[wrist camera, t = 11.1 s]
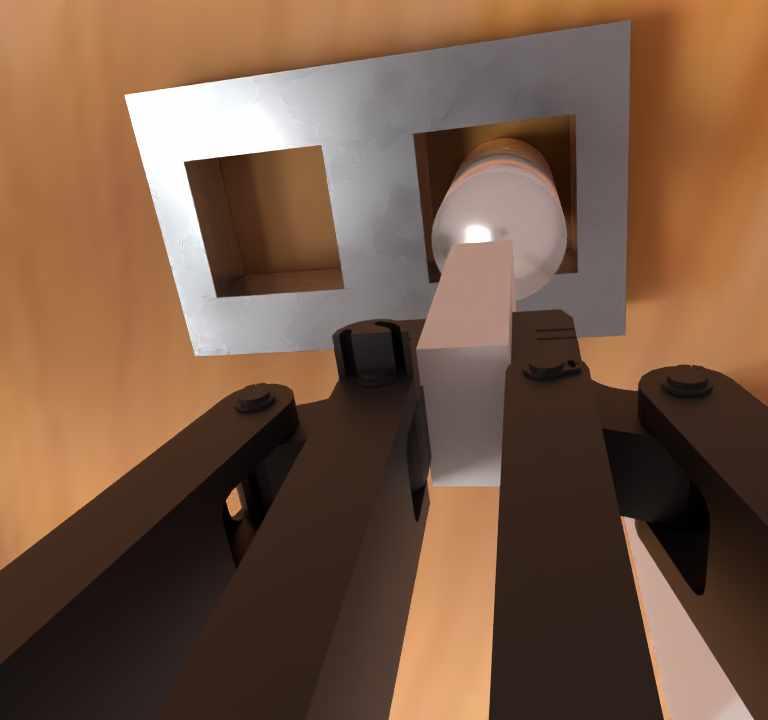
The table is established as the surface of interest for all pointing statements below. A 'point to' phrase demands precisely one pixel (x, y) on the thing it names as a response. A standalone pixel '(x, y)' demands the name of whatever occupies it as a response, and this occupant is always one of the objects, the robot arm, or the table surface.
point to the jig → (384, 181)
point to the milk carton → (682, 649)
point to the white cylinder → (505, 210)
